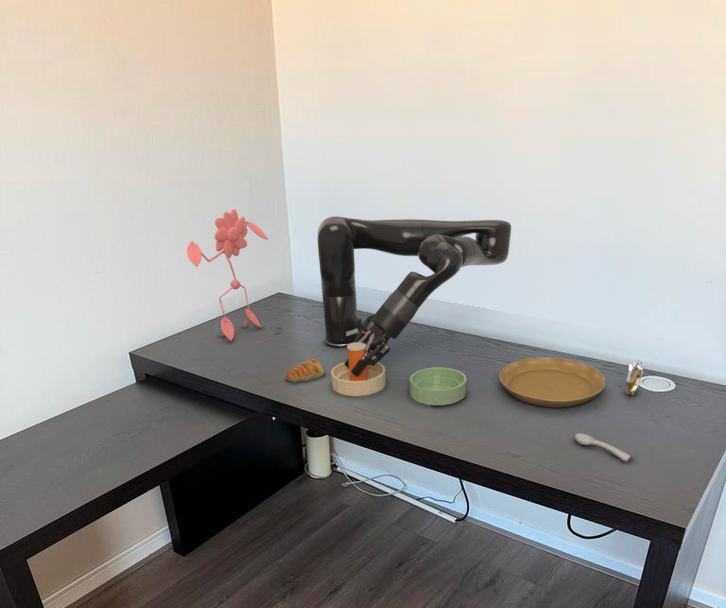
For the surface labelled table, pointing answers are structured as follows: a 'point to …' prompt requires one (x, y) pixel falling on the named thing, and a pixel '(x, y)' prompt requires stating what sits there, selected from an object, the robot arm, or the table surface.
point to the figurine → (231, 242)
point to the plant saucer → (552, 381)
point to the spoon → (589, 440)
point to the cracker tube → (356, 360)
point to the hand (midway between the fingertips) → (350, 370)
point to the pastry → (305, 371)
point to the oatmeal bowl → (358, 388)
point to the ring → (637, 374)
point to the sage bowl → (438, 386)
